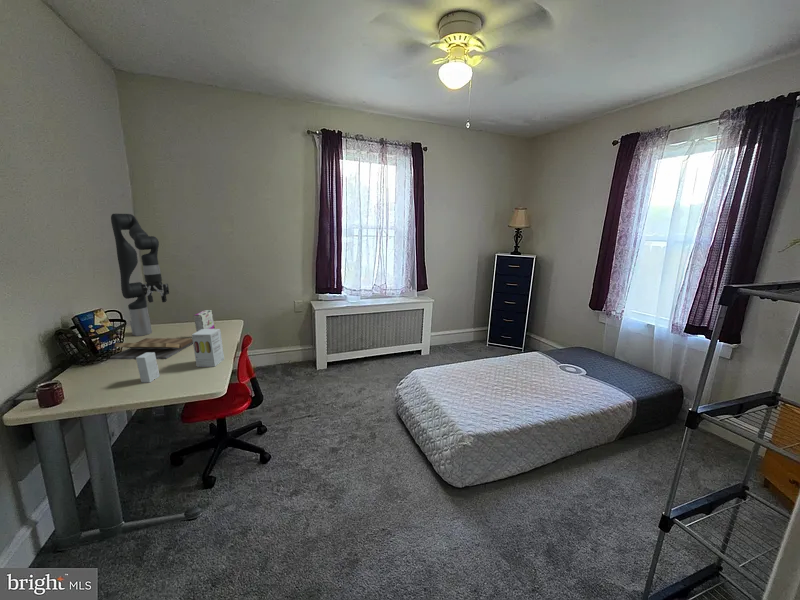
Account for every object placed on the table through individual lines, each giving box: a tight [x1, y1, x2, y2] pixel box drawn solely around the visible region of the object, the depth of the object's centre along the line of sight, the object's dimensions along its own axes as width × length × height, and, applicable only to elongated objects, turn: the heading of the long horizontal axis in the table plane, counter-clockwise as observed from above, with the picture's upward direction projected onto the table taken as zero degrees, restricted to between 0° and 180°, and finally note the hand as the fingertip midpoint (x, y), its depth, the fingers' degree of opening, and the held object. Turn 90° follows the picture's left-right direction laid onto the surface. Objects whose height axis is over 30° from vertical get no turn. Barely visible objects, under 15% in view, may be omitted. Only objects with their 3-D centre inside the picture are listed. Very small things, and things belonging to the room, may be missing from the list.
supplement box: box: [191, 328, 225, 368], centre depth 164 cm, size 10×9×17 cm
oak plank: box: [114, 342, 180, 349], centre depth 179 cm, size 28×10×2 cm, turn 88°
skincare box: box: [135, 352, 161, 383], centre depth 148 cm, size 6×4×12 cm
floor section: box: [109, 337, 193, 360], centre depth 184 cm, size 30×24×3 cm
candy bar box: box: [193, 309, 216, 332], centre depth 201 cm, size 11×5×16 cm, turn 179°
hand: (157, 302), depth 186 cm, fingers open, 7 cm apart
